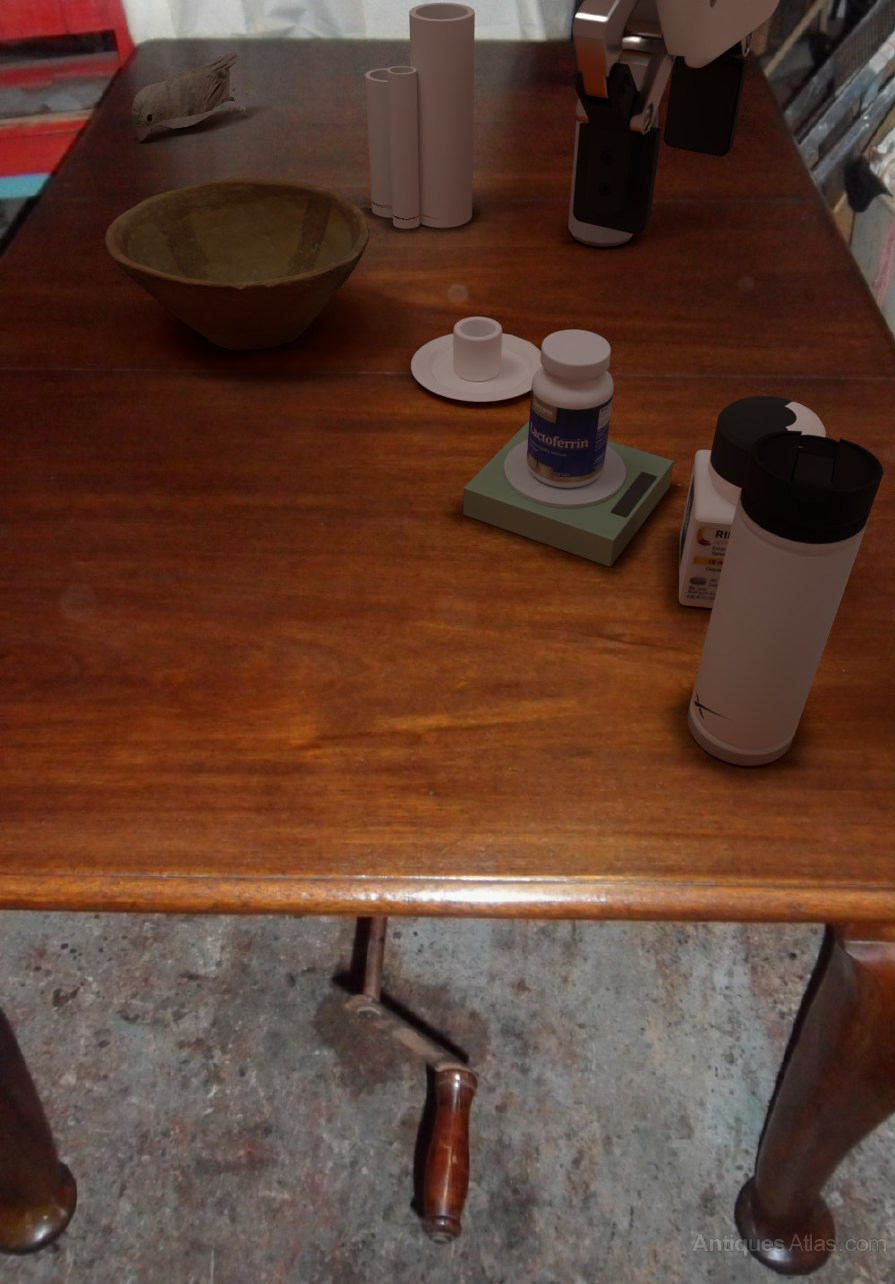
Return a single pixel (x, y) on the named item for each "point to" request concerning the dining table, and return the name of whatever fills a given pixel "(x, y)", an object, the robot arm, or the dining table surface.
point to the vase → (425, 122)
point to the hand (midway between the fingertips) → (655, 185)
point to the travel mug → (779, 591)
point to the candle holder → (477, 363)
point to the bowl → (241, 255)
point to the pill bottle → (570, 409)
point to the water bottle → (578, 229)
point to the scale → (570, 500)
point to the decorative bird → (185, 93)
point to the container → (727, 487)
